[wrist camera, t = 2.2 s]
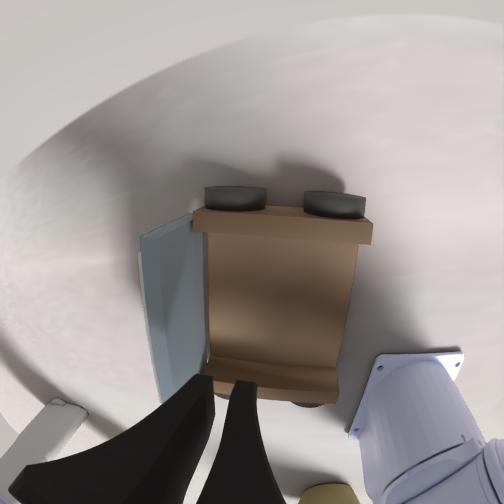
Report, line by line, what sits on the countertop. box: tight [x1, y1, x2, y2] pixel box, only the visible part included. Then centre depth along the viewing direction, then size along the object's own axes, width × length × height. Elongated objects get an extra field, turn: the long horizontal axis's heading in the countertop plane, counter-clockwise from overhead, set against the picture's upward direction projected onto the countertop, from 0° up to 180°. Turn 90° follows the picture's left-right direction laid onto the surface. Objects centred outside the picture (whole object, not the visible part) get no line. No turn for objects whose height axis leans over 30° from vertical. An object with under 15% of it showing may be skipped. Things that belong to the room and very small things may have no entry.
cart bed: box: [193, 186, 373, 408], centre depth 16 cm, size 13×8×4 cm, turn 178°
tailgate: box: [138, 214, 207, 403], centre depth 15 cm, size 10×1×6 cm, turn 178°
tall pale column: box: [0, 398, 88, 504], centre depth 16 cm, size 11×4×22 cm, turn 112°
